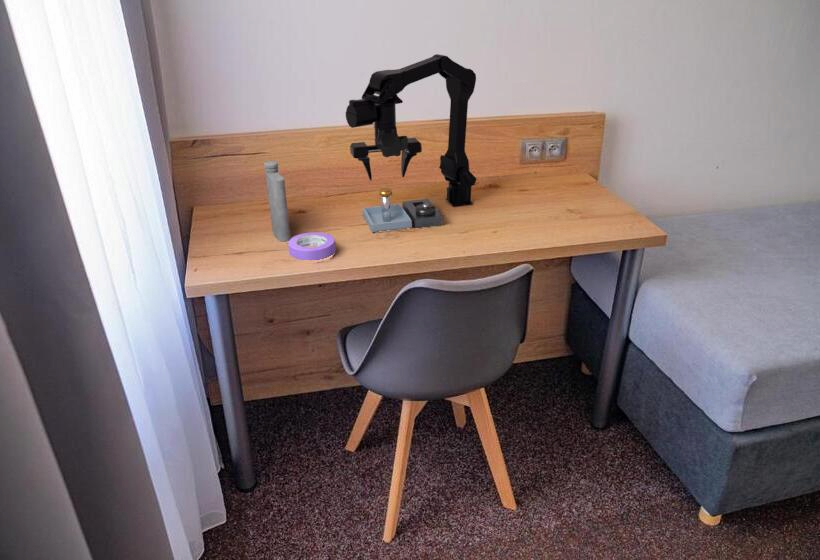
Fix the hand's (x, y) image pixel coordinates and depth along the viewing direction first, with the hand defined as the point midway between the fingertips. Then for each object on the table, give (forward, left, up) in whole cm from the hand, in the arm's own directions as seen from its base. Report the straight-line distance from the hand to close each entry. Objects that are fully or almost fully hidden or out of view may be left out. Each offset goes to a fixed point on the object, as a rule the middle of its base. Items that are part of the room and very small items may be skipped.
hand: (386, 178), depth 173 cm
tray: (+1, +1, -13) cm, 13 cm away
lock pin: (+1, +1, -12) cm, 12 cm away
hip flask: (+31, 0, -13) cm, 33 cm away
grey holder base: (-10, +1, -13) cm, 16 cm away
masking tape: (+24, +16, -13) cm, 31 cm away
